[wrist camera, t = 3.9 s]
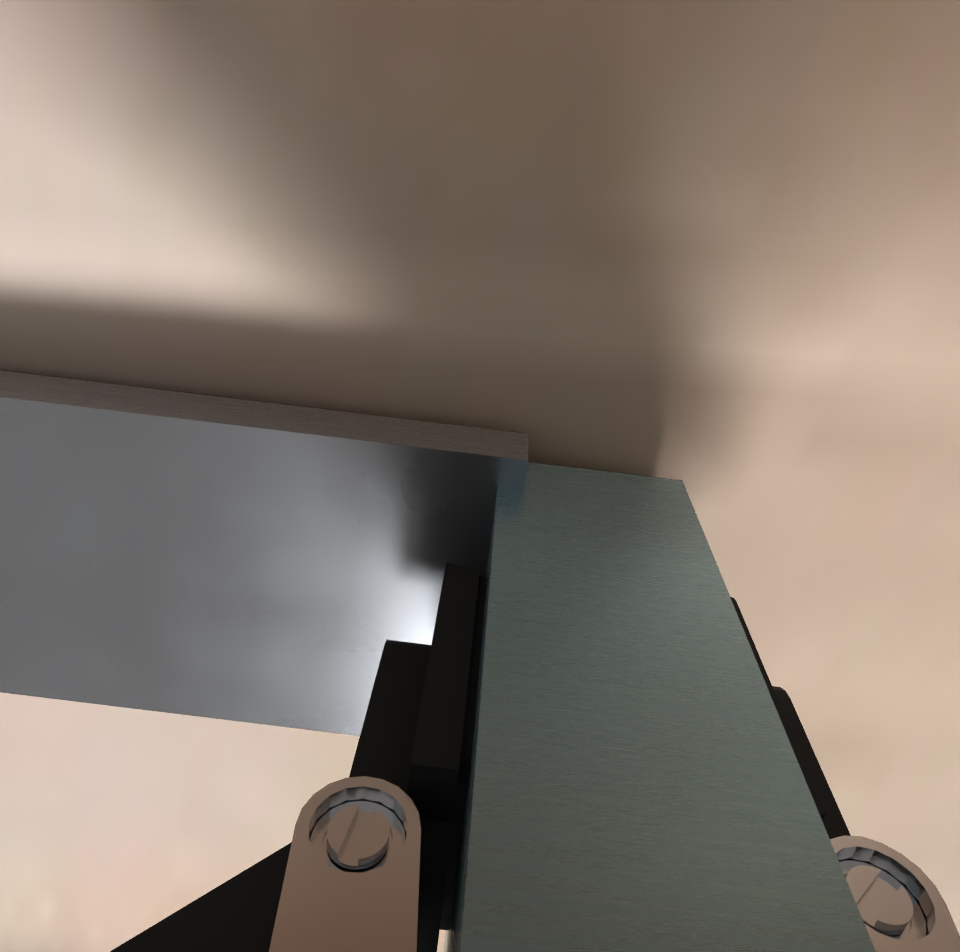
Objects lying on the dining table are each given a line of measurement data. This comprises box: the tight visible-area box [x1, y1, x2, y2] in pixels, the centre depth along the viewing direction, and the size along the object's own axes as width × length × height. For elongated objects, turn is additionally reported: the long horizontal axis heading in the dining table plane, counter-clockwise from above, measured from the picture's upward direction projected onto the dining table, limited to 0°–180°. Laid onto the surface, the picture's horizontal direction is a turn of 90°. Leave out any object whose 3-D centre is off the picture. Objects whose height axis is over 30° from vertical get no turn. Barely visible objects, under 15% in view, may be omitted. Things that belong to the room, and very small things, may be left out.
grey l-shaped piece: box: [0, 370, 876, 952], centre depth 9 cm, size 17×6×9 cm, turn 84°
